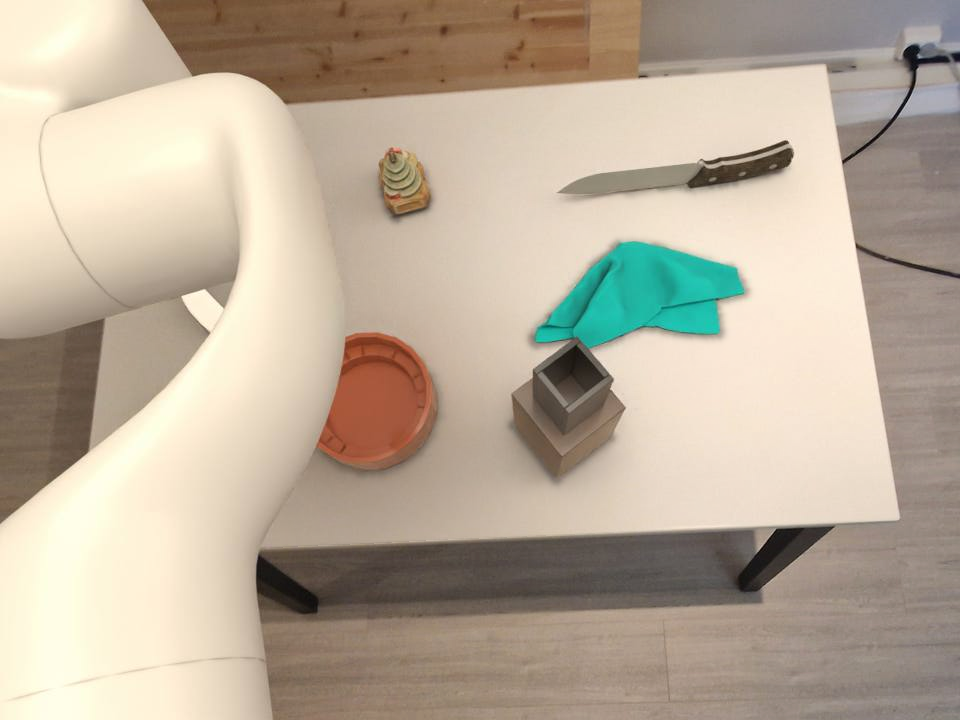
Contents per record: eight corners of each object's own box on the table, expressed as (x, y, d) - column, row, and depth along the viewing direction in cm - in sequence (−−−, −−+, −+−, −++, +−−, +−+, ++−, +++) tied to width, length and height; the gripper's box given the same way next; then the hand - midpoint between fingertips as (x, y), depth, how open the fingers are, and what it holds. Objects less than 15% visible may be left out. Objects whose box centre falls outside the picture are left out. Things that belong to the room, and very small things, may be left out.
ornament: (375, 174, 95) (358, 128, 86) (418, 159, 95) (406, 112, 86) (392, 223, 93) (376, 181, 83) (437, 208, 93) (426, 164, 83)
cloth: (731, 232, 89) (736, 223, 87) (753, 334, 84) (759, 327, 82) (525, 254, 90) (524, 246, 88) (536, 356, 86) (536, 350, 83)
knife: (798, 135, 87) (559, 161, 85) (804, 153, 86) (563, 179, 85) (778, 163, 93) (553, 188, 91) (783, 179, 92) (557, 205, 90)
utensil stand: (611, 436, 82) (639, 381, 60) (557, 478, 81) (566, 438, 59) (567, 384, 84) (579, 313, 62) (514, 424, 83) (507, 366, 61)
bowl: (462, 418, 84) (457, 407, 79) (357, 496, 82) (345, 490, 77) (390, 324, 88) (381, 307, 83) (289, 396, 86) (273, 384, 81)
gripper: (51, 119, 39) (198, 262, 57) (186, 328, 35) (301, 413, 53) (166, 48, 40) (276, 210, 58) (312, 242, 36) (384, 354, 53)
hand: (288, 306), depth 55 cm, fingers closed
